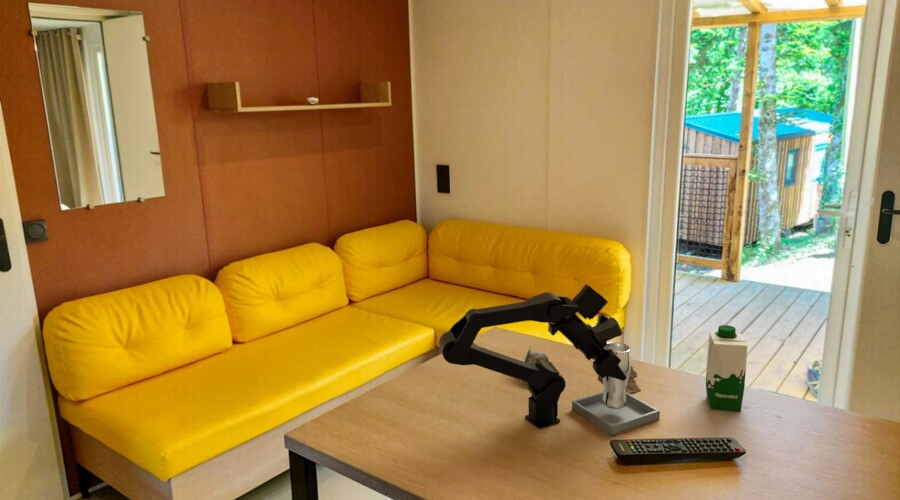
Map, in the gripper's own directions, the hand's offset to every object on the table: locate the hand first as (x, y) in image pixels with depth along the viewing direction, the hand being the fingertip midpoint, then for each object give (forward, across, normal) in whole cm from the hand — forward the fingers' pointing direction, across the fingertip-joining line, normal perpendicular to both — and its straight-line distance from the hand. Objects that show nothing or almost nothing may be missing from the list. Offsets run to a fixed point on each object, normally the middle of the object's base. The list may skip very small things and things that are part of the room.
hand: (621, 373), depth 155 cm
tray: (+7, 0, +9) cm, 11 cm away
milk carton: (+27, +2, -12) cm, 30 cm away
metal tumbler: (+5, 0, +7) cm, 8 cm away
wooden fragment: (+13, +22, +4) cm, 26 cm away
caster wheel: (-3, +24, +19) cm, 31 cm away
